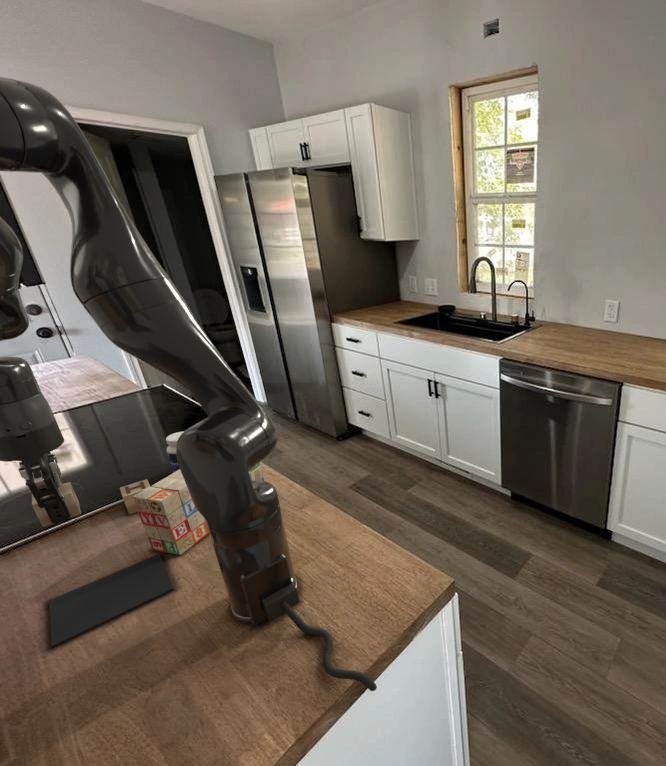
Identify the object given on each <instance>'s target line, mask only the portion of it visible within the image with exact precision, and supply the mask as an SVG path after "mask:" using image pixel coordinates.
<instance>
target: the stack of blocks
mask: <svg viewBox="0 0 666 766" xmlns="http://www.w3.org/2000/svg"><path fill="white" fill-rule="evenodd" d="M263 473H264V472H263V469H262V465H261V462H260V463H259V464H258V465H256V466H255V467H254V468H253V469H252V470H250V471H249V477H250V480H251V481H254V480H257V481H265V478H264V474H263ZM133 498H134V501H135V503H136V506H137V508H138V512H137V514H138V516H139V519H140V521H141V523H142V525H143V528H144V530H145V533H146V535H147V538H148V540H149V543H150V547H151V549H152V550H153V551H156V552H161V553H168V554H172V555H177V556H181V555H183V554H184V553H185V552H186V551H188V550H189V549H190V548H192V547H193V546H194V545H195V544H197V543H198V542H199V541H201V540H203V538H204V537H206V536H207V535H209V534H210V532H209V529H208V526H207V523H206V520H205V518H204V517H203V516H202V515H201V514H200V512H199V511H198V510H197V508H196V507H195V505H194V503H193V501H192V498H191V496H190V493H189V491H188V488H187V485H186V483H185V480H184V478H183V475H182V473H181V470H180V469H179V470H177V471H176V472H174V473H173V472H172V473H171V474H169V475H168V476H166V477H164V478H162V479H160V480H159V481H157V482H155V483H153V484H152V485H150V487H148V488H147V489H145V490H143V491H141V492H140V493H138V494H136V495H135V496H133Z"/></svg>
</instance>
